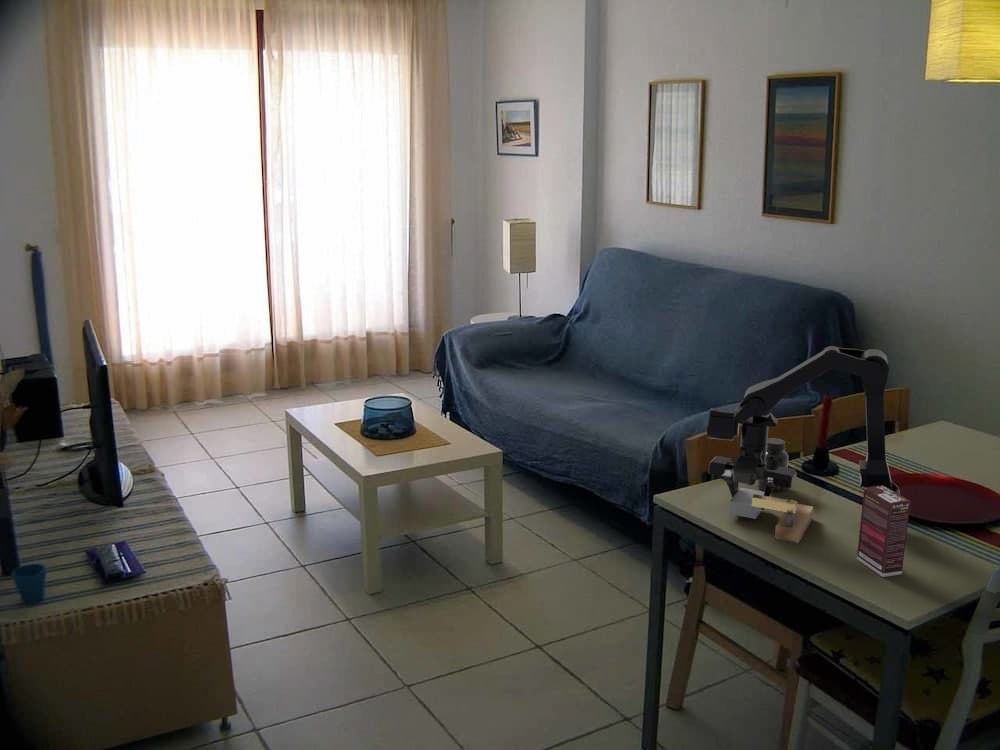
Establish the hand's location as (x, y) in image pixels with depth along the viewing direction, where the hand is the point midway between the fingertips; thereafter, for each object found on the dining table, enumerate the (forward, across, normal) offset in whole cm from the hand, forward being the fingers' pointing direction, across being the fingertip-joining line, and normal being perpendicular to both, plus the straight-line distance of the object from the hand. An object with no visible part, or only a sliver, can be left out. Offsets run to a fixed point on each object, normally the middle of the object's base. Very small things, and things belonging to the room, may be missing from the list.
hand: (749, 506), depth 219 cm
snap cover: (0, 0, -2) cm, 2 cm away
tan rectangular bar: (-5, +8, -10) cm, 13 cm away
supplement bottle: (+2, +1, +17) cm, 17 cm away
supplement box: (+2, +30, -14) cm, 33 cm away
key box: (+1, +11, -4) cm, 12 cm away
